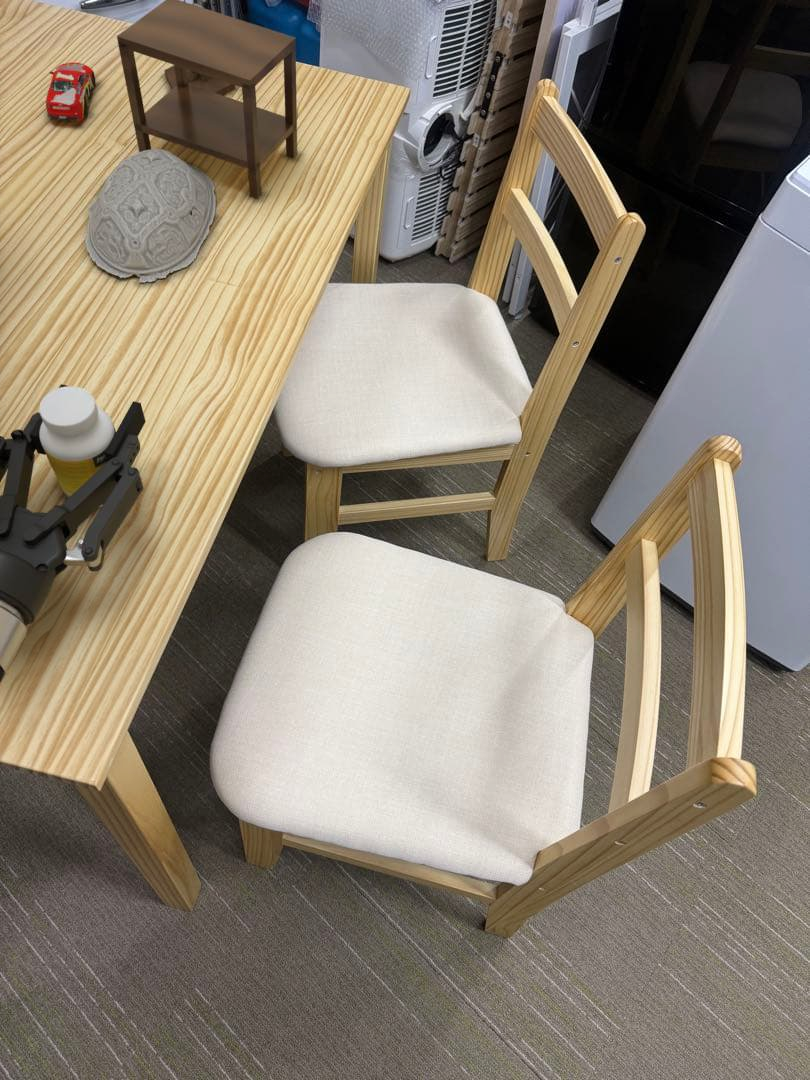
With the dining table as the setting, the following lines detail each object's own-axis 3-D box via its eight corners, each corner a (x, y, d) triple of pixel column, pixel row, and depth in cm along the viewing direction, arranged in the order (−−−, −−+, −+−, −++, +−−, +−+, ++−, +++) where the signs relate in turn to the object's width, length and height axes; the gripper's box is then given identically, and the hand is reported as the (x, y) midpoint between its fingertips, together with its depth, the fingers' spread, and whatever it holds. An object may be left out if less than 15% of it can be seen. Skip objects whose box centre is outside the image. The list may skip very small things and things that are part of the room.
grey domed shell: (227, 163, 107) (217, 116, 101) (196, 292, 95) (182, 247, 89) (116, 160, 107) (99, 113, 101) (71, 289, 95) (49, 244, 89)
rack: (257, 199, 105) (250, 80, 92) (140, 158, 107) (116, 35, 94) (297, 154, 111) (295, 37, 98) (185, 116, 113) (169, -4, 100)
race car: (62, 75, 116) (54, 46, 112) (99, 78, 116) (93, 50, 113) (43, 125, 109) (35, 96, 105) (84, 128, 109) (77, 99, 106)
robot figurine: (154, 92, 116) (139, 2, 105) (171, 61, 121) (159, -28, 111) (228, 104, 116) (220, 16, 106) (242, 72, 121) (236, -15, 111)
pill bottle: (101, 521, 76) (69, 445, 66) (48, 491, 77) (10, 413, 67) (144, 476, 79) (121, 398, 69) (94, 448, 80) (64, 368, 70)
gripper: (-109, 602, 66) (20, 406, 79) (110, 655, 66) (205, 450, 78) (-154, 557, 60) (-6, 352, 72) (88, 616, 59) (195, 399, 72)
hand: (103, 403), depth 75 cm, fingers closed on pill bottle, 6 cm apart
